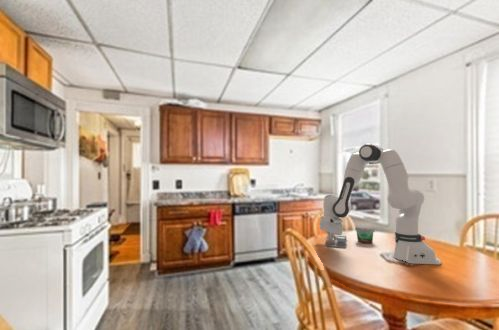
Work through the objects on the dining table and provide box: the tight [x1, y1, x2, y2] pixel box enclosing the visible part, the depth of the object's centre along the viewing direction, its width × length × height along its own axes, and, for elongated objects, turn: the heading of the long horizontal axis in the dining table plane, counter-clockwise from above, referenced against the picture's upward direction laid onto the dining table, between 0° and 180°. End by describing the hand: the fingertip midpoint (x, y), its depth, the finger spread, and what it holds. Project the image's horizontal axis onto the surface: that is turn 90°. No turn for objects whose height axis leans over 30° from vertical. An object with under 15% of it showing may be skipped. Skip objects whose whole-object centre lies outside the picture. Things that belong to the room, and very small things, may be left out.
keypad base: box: [325, 234, 348, 249], centre depth 187 cm, size 13×28×2 cm, turn 160°
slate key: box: [338, 237, 345, 243], centre depth 179 cm, size 4×4×3 cm
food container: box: [355, 227, 375, 245], centre depth 185 cm, size 12×6×10 cm, turn 73°
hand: (330, 238), depth 182 cm, fingers closed, pressing on terracotta key
